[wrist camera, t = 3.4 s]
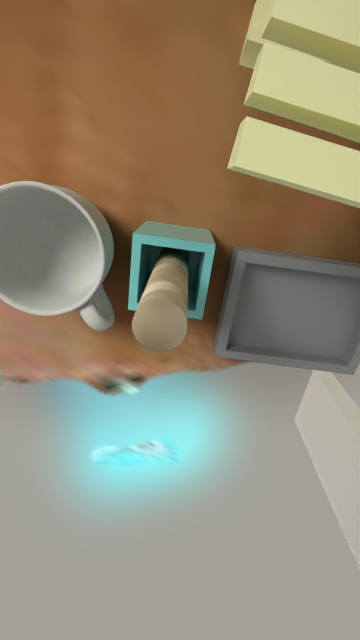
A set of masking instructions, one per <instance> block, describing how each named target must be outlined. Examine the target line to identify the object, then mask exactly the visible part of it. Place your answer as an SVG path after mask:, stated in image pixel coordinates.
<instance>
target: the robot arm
mask: <svg viewBox="0 0 360 640" xmlns="http://www.w3.org/2000/svg"><path fill="white" fill-rule="evenodd" d="M2 383H3V381H2V374H1V367H0V385H1V384H2ZM294 421H295V424H296V426H297V428H298V430H299V433H300V435H301V437H302V440H303V442H304V444H305V446H306V449H307V451H308V453H309V456H310V458H311V460H312V462H313V465H314V467H315V469H316V472H317V474H318V476H319V478H320V481H321V483H322V485H323V487H324V490H325V492H326V494H327V497H328V499H329V501H330V503H331V506H332V508H333V510H334V512H335V514H336V516H337V519H338V522H339V524H340V526H341V528H342V531H343V533H344V535H345V537H346V540H347V542H348V544H349V547H350V548H351V551H352V553H353V556H354V558H355V560H356V563H357V565H358V567H359V569H360V409H359V408H358V407H357V405H356V404H355V403H354V401H353V400H352V399H351V397H350V396H349V395H348V393H347V392H346V391H345V389H344V388H343V387H342V386H341V384H340V383H339V381H338V380H337V379H336V378H335V376H334V375H333V374H332V372H327V371H320V370H313V372H312V375H311V377H310V380H309V382H308V385H307V388H306V390H305V393H304V395H303V398H302V401H301V403H300V406H299V409H298V411H297V414H296V416H295V419H294Z"/></svg>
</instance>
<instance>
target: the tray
mask: <svg viewBox="0 0 360 640" xmlns="http://www.w3.org/2000/svg"><path fill="white" fill-rule="evenodd" d="M213 346H214V353H215V357H221V358H228V359H236V360H244V361H251V362H259V363H267V364H275V365H283V366H290V367H298V368H306V369H313V370H321V371H329V372H336V373H344V374H352V375H353V374H354V373H355V370H356V368H357V366H358V364H359V362H360V263H356V262H349V261H342V260H335V259H328V258H321V257H314V256H307V255H300V254H293V253H286V252H279V251H271V250H264V249H257V248H250V247H243V246H236V245H234V249H233V254H232V258H231V263H230V268H229V273H228V278H227V282H226V287H225V292H224V297H223V302H222V306H221V311H220V316H219V321H218V325H217V330H216V335H215V340H214V345H213Z"/></svg>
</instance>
